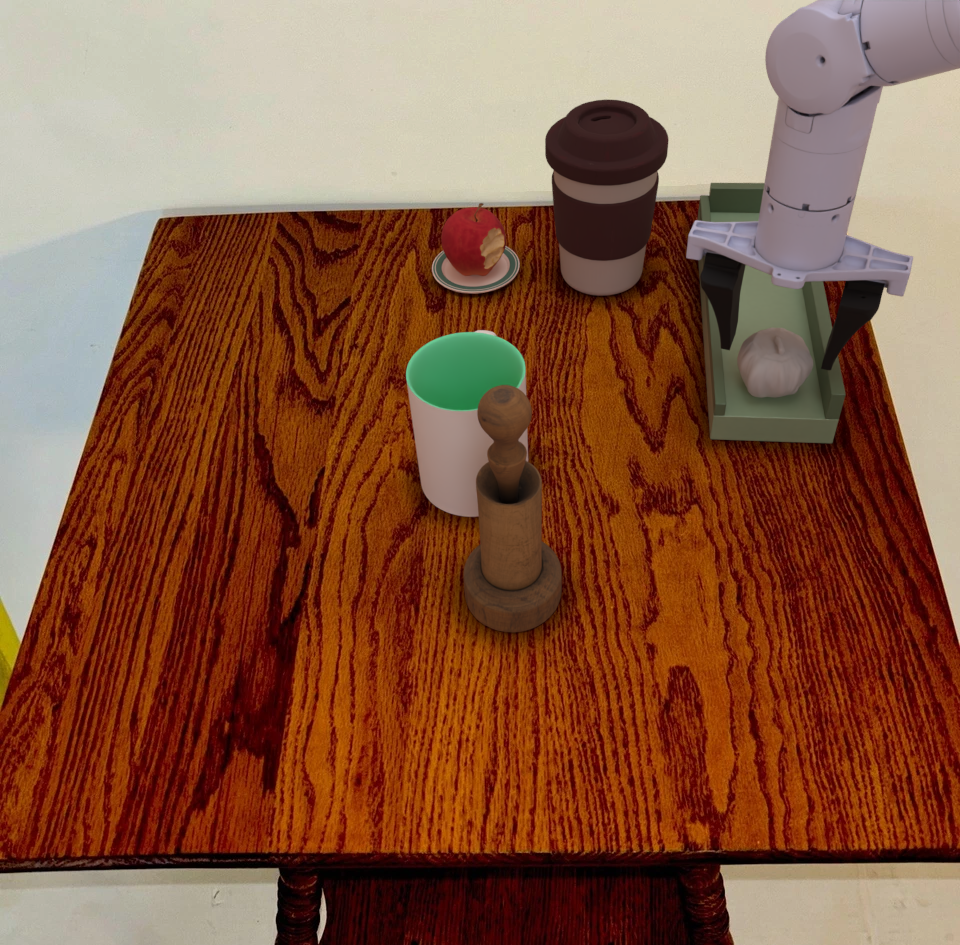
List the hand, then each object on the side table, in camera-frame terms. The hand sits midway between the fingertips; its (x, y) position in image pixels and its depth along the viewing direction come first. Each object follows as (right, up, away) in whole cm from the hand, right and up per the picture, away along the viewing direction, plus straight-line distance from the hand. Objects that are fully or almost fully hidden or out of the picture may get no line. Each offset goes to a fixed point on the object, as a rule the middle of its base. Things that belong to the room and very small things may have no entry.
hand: (777, 351), depth 76 cm
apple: (-22, +9, +19) cm, 31 cm away
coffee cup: (-11, +9, +18) cm, 23 cm away
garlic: (0, -3, +3) cm, 4 cm away
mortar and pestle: (-20, -17, -6) cm, 27 cm away
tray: (+2, +4, +11) cm, 12 cm away
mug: (-22, -8, +3) cm, 24 cm away
